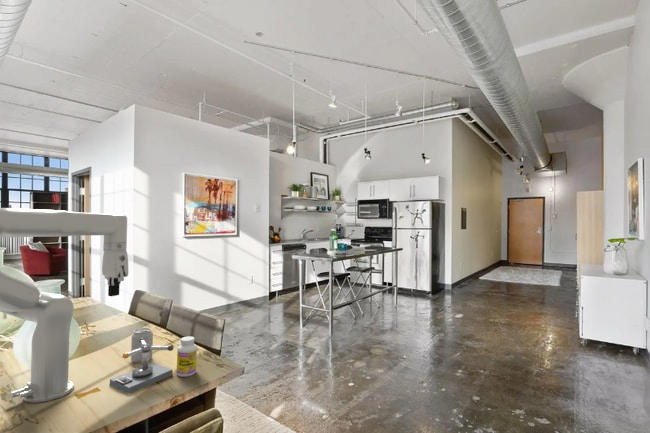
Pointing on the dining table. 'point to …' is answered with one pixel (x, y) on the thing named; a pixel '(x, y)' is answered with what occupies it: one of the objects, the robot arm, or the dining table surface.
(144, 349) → the capstan
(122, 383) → the stand
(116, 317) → the dining table surface
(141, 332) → the can
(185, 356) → the supplement bottle
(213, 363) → the dining table surface
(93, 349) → the dining table surface
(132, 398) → the dining table surface
